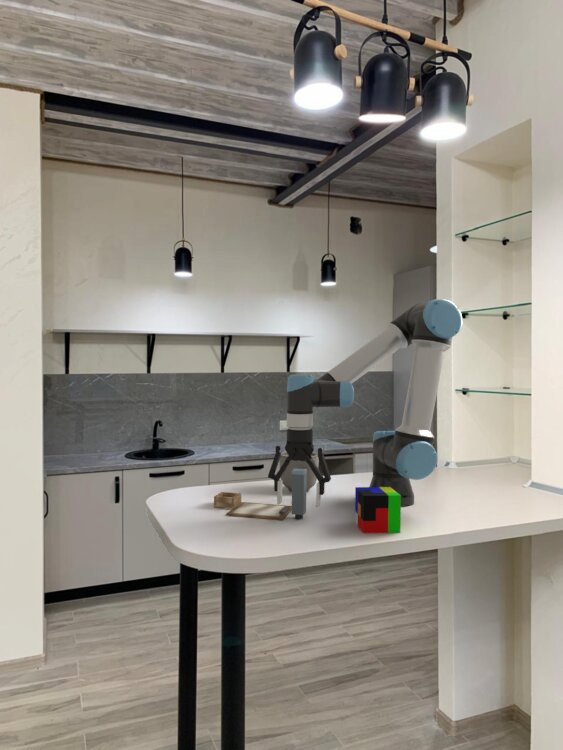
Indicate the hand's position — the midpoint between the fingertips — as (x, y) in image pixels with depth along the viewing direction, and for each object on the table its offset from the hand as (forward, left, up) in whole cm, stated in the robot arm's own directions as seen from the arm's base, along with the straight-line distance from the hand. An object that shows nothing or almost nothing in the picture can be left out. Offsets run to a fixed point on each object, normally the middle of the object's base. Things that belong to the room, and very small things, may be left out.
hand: (299, 504), depth 158 cm
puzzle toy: (-23, +2, -4) cm, 23 cm away
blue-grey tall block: (0, 0, -4) cm, 4 cm away
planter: (+8, -33, -4) cm, 34 cm away
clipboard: (+12, -4, -4) cm, 14 cm away
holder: (+24, -7, -4) cm, 26 cm away
